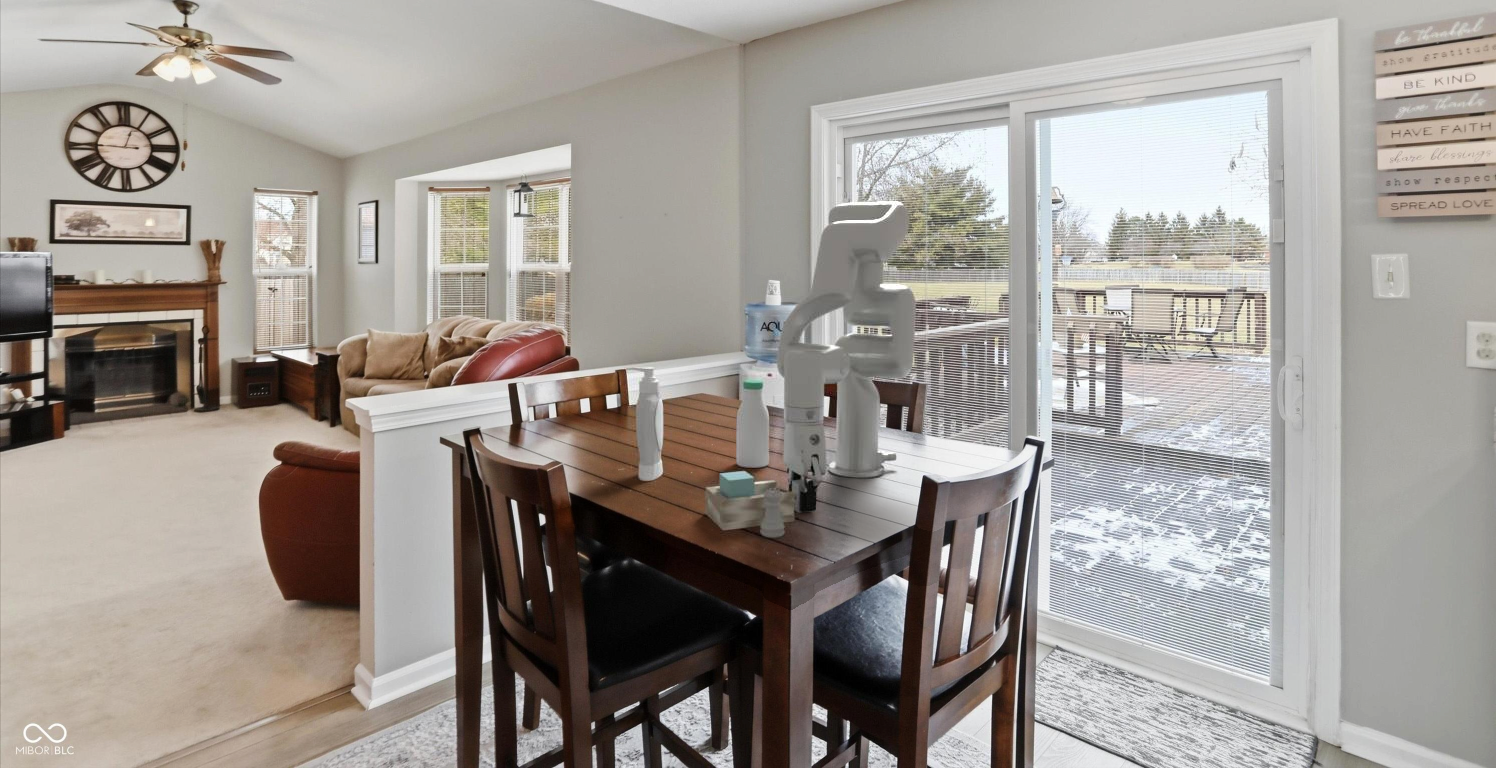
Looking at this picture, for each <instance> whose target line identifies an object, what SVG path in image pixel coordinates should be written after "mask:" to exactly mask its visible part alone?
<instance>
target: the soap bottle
mask: <svg viewBox="0 0 1496 768" xmlns="http://www.w3.org/2000/svg"><path fill="white" fill-rule="evenodd" d="M625 369H626V371H632V370H634V371H637V372H638V371H639V372H641V373H643V374H644V376H642V377H641V379H642V380H639V381H638V383H639V384H638V387H639V391H638V392H639V394H638V398H637V402H636V405H635V407H636V408H635V429H636V430H635V431H636V432H635V433H636V442H637V449H638V455H639V463H638V475H637V476H638V479H639V480H640V481H642V482H651V481H654V480H657V479H658V478H660V477H661V476H663V473H664V470H663V461H662V460H663V459H662V458H661V457H662V449H663V443H664V441H663V440H664V404H663V399H662V398H661V394H660V380H659V379H657V376H655V374H654V373H655V370H654V369H656V368H655V367H652V366H649V367H648V366H647V367H638V366H631V367H626V368H625Z"/></svg>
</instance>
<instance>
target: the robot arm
mask: <svg viewBox="0 0 1496 768" xmlns="http://www.w3.org/2000/svg"><path fill="white" fill-rule="evenodd" d="M828 213H829V214H828V221H827V222H828V225H827V226H825V228H824V229H823V230H822V234H821V237H820V242H819V247H818V252H817V257H816V263H815V264H816V265H815V269H814V273H813V274H814V275H813V279H812V286H811V290H810V292H809V293H808V294H807V295H806V296H805V297H804V298H803V299H802V300H801V301H799V303H798V304H796V305H795V307H794V308H793V309H792V311H791V312H790V314H789V315H788V316H787V318H786V320H785V321H784V323H783V325H782V328H781V332H780V336H779V343H778V347H777V354H776V368H777V371H778V373H779V375H780V376H781V377H782V378H784V381H783V382H784V384H783V422H784V430H783V431H784V432H783V445H782V446H783V449H782V450H783V451H782V453H783V455H782V457H783V465H784V466H785V467H786V469H787V470H786V472H787V474H788V476H787V482H788V492H789V491H791V492H792V481H793V480H801V481H802V491H800V511H801V512H800V513H809V512H815V511H816V510H817V497H818V496H817V493H818V491H819V486H820V485H821V484H822V483H823V479H824V478H823V476H825V475H826V474H827V443H826V434H825V433H826V432H825V426H824V420H825V419H824V411H825V409H824V407H825V404H824V403H825V385H827V384H829V385H830V384H834V385H835V384H836V386H837V388H836V392H837V394H836V395H837V397H836V399H837V400H836V433H835V435H836V436H835V460H833V461H832V462H830V463H829V464H828V471H829V472H831V473H832V474H834V475H837V476H842V477H846V478H857V479H858V478H861V479H863V478H864V479H865V478H874V477H879V476H881V475H882V474H884V472H885V466H884V465H883V464H884V463H885V462H891V461H893V462H894V461H896V460H897V453H896V452H887V453H886V452H885V451H880V450H879V429H880V428H879V423H880V403H881V402H880V393H879V391H878V388H877V386H876V385H875V383H874V382H873V380H872V379H871V378H883V379H885V378H886V379H904V378H906V377H907V376H909V374H910V373H911V371H912V369H913V363H914V353H915V352H914V351H915V334H916V318H917V317H916V313H917V310H916V309H917V308H916V307H917V306H916V299H915V295H914V292H913V291H912V289H910V287H908V286H906V285H901V284H884V263H886V262H887V261H888V260H890V259H891V258H892V256H893V255H894V254H895V253H896V251H897V250H898V248H899V247H900V245H901V244H902V243H903V241H904V240H905V238H906V236H907V234H908V231H909V226H910V215H909V211H908V209H907V207H906V206H905V205H904V204H903V203H902V202H899V201H877V202H873V201H872V202H869V201H866V202H865V201H863V202H861V201H860V202H848V203H846V202H845V203H841V204H837V205H835V206H833V207H832V208H831V209H830V211H829V212H828ZM841 308H842V313H843V320H844V321H845V323H846V324H848V325H850V326H852V327H858V328H871V329H872V328H874V329H889V330H890V333H891V334H880V333H879V334H876V333H863V332H852V333H845V334H844V335H842V336H840V337H839V338H838V339H837V340H836V342H835V344H822V343H810V342H809V343H806V342H800V341H801V339H802V338H801V337H802V336H803V333H804V331H805V330H806V329H807V328H808V327H809V326H810V324H812V322H814V321H816V320H818V318H821V317H823V316H825V315H827V314H829V313H832V312H834V311H836V310H839V309H841ZM809 473H811V474H809ZM809 479H810V480H809ZM807 480H809V481H808V483H807Z"/></svg>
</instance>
